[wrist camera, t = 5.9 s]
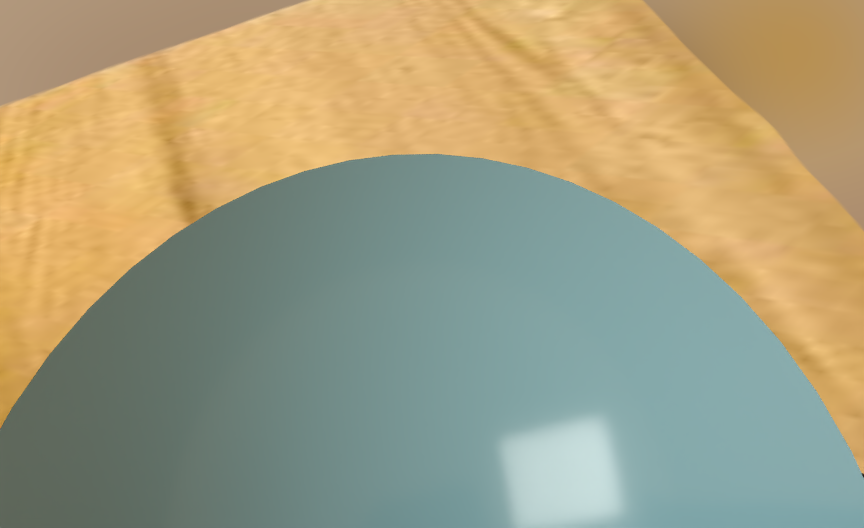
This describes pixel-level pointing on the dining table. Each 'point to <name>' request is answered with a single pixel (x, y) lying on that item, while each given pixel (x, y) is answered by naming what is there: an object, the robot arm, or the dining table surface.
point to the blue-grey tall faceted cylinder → (423, 372)
